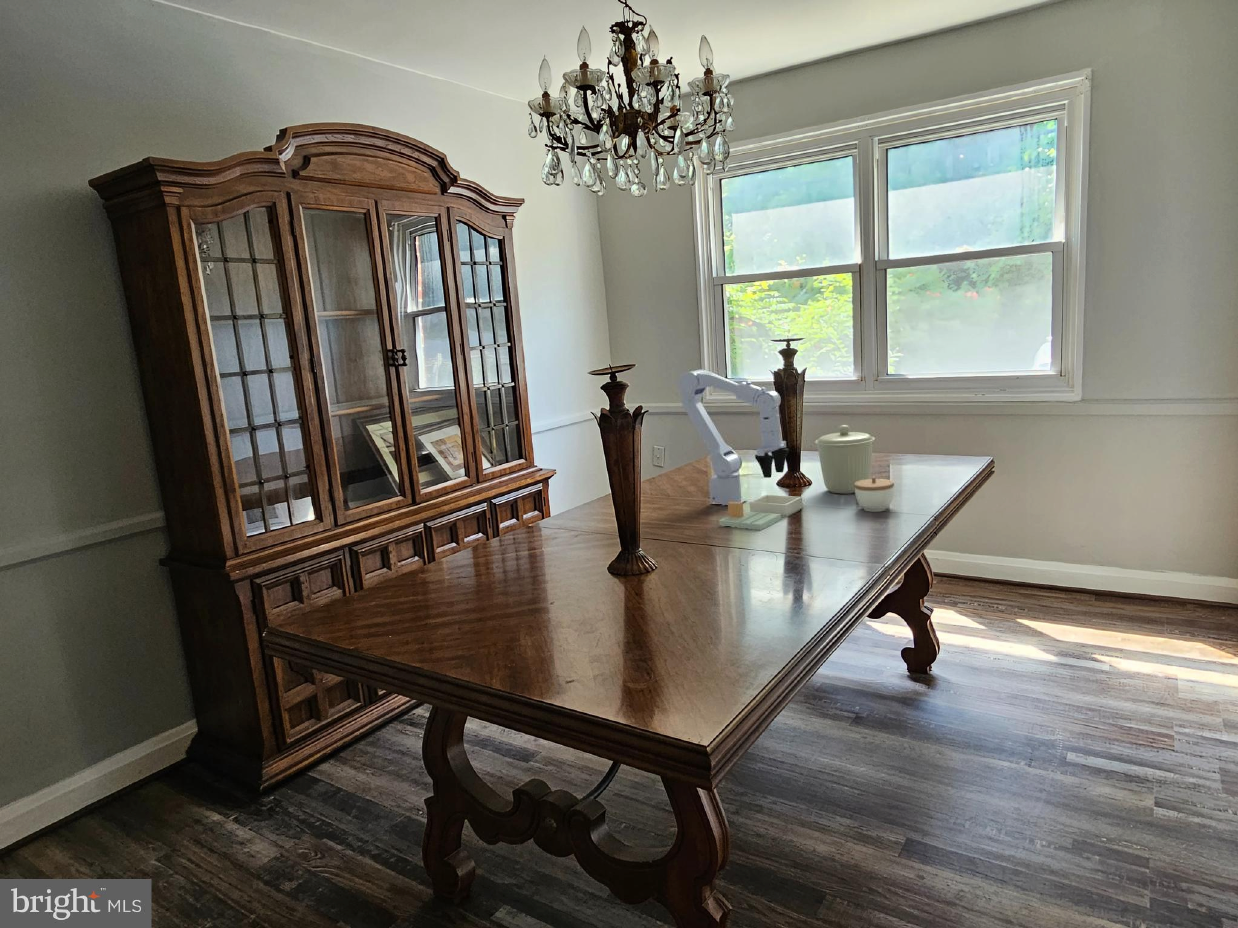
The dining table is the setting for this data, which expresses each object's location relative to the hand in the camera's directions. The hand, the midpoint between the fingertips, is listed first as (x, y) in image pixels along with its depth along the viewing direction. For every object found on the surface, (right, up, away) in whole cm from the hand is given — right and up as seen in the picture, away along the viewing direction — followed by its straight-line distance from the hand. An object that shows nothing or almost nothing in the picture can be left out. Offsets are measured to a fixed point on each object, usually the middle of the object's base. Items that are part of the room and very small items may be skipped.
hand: (773, 474), depth 233 cm
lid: (-10, -13, -16) cm, 23 cm away
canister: (+26, -5, +10) cm, 28 cm away
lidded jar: (+26, -10, -16) cm, 32 cm away
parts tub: (0, -11, -6) cm, 12 cm away
